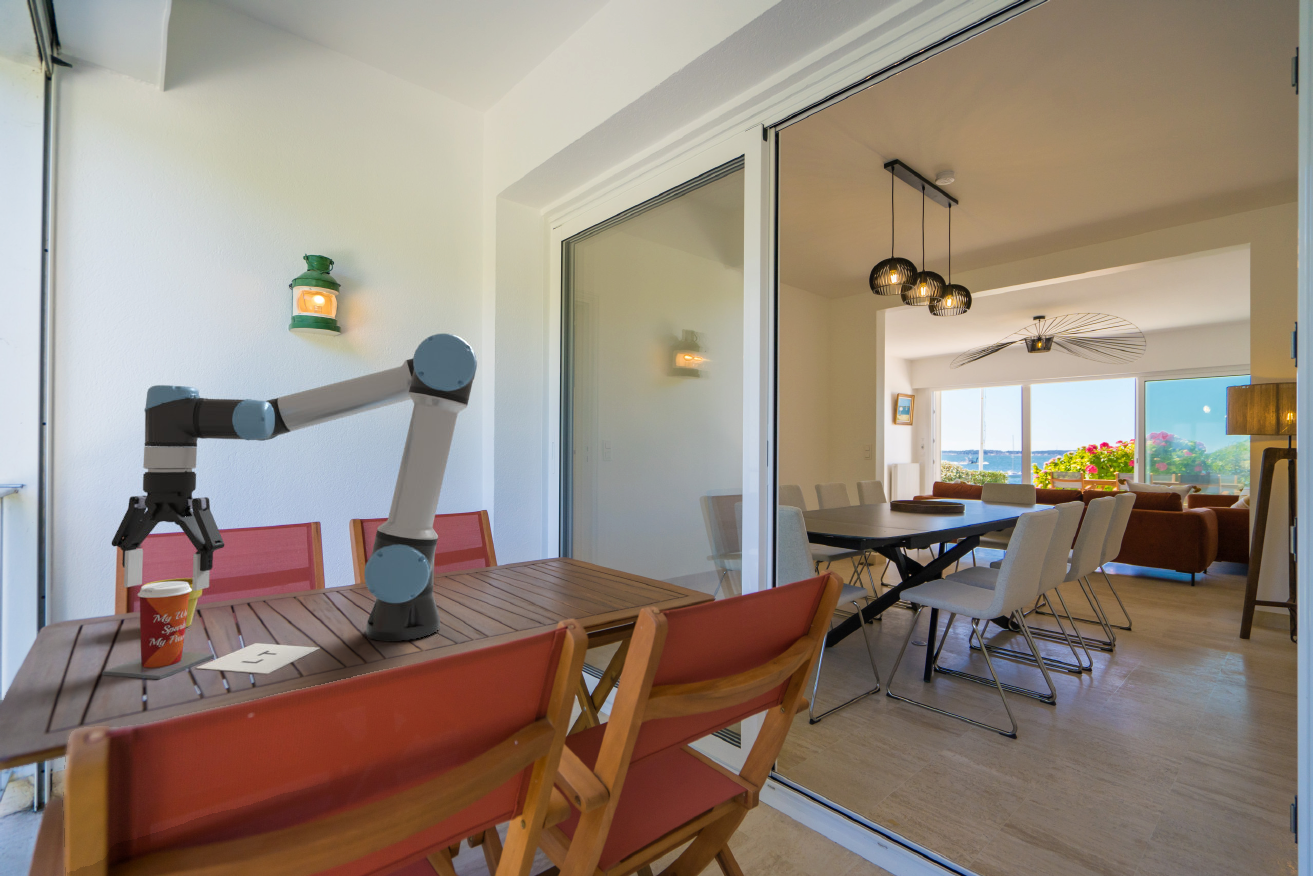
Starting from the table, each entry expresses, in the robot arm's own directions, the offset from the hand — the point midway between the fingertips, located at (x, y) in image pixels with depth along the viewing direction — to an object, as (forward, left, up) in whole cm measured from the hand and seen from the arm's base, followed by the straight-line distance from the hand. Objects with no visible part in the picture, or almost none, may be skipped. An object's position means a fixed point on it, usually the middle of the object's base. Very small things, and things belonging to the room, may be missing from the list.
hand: (166, 587), depth 109 cm
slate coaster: (0, 0, -14) cm, 14 cm away
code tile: (-14, -7, -14) cm, 21 cm away
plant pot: (+18, -20, -14) cm, 31 cm away
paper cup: (0, 0, -14) cm, 14 cm away
